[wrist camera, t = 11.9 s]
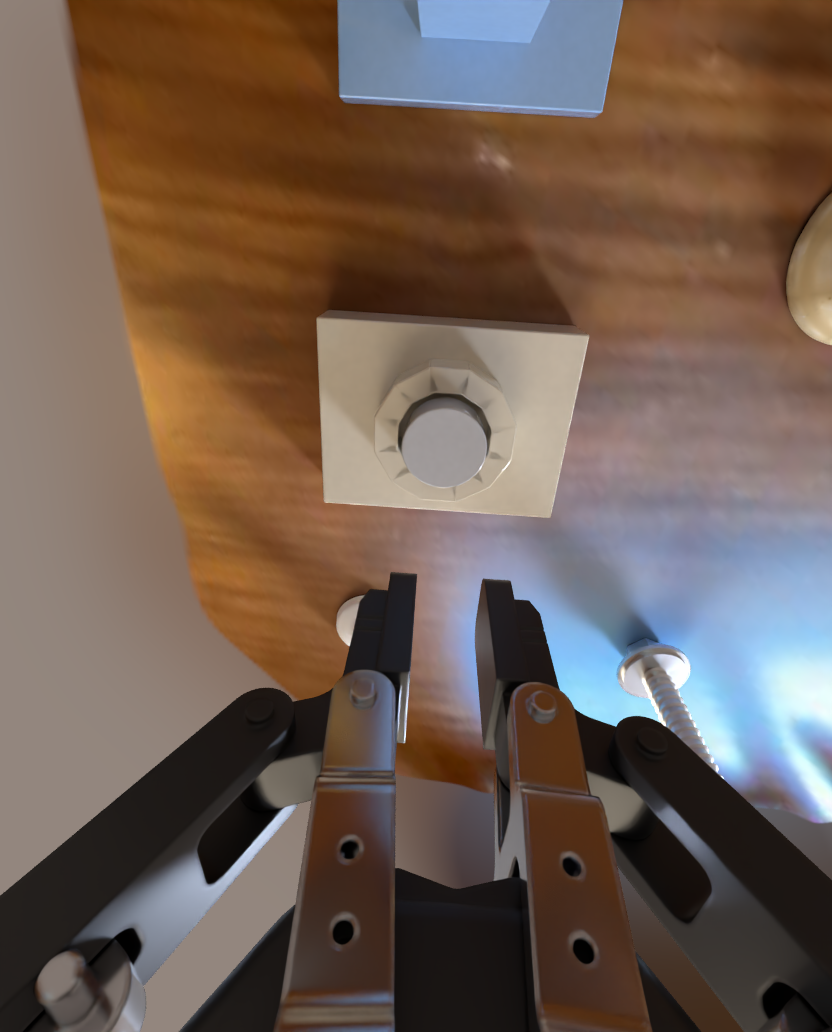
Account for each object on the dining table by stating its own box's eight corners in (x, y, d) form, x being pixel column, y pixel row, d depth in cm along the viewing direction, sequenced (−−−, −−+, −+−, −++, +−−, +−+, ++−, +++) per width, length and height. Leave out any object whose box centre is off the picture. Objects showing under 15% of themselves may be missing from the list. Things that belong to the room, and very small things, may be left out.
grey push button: (402, 470, 26) (399, 485, 25) (405, 394, 24) (403, 405, 23) (479, 475, 26) (481, 490, 25) (489, 399, 24) (492, 411, 23)
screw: (608, 677, 38) (610, 629, 36) (674, 673, 38) (681, 623, 35) (678, 864, 27) (688, 811, 25) (774, 861, 26) (794, 807, 24)
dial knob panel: (332, 482, 31) (316, 518, 27) (326, 309, 26) (307, 323, 22) (542, 496, 31) (557, 535, 27) (576, 325, 26) (600, 342, 22)
